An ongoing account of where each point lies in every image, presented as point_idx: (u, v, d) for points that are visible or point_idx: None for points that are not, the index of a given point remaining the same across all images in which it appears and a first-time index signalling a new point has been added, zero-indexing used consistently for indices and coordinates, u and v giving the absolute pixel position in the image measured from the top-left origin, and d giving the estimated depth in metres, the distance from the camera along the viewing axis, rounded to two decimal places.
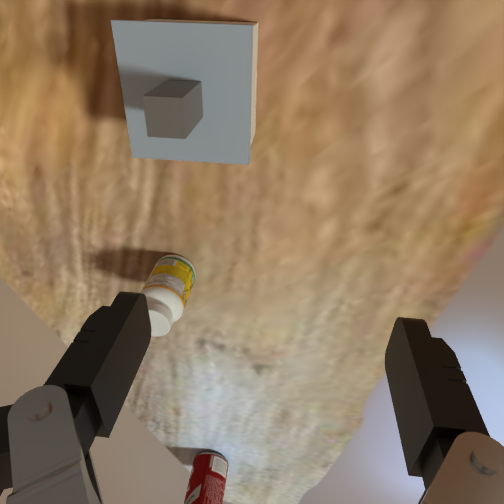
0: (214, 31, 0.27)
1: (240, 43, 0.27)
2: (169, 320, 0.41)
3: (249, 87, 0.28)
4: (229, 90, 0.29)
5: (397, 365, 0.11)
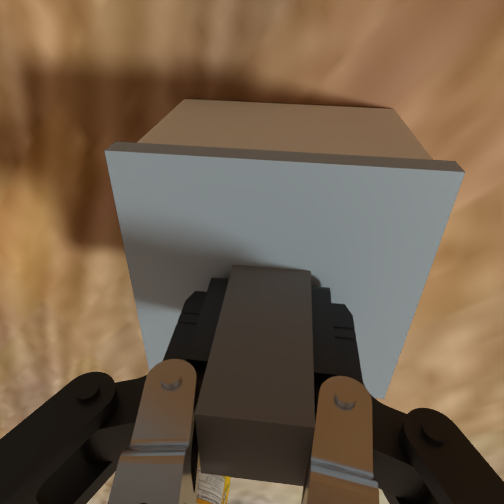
0: (363, 181, 0.11)
1: (423, 207, 0.11)
2: None
3: (421, 287, 0.12)
4: (372, 289, 0.13)
5: None
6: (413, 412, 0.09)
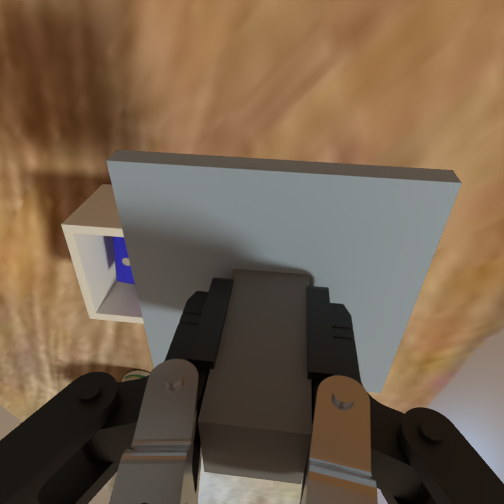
0: (361, 191, 0.11)
1: (420, 216, 0.11)
2: None
3: (417, 290, 0.13)
4: (370, 292, 0.13)
5: None
6: (410, 411, 0.09)
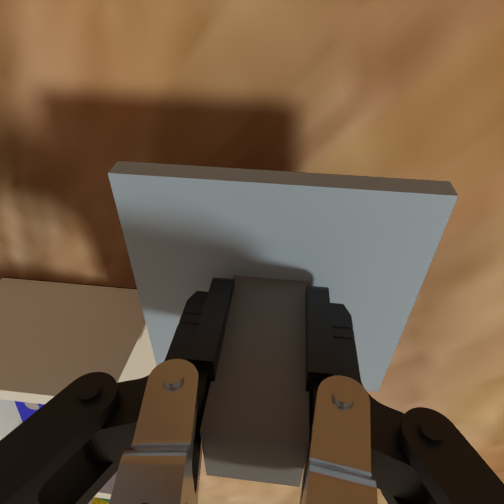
0: (359, 203, 0.11)
1: (417, 227, 0.11)
2: None
3: (414, 296, 0.13)
4: (367, 298, 0.13)
5: None
6: (410, 411, 0.09)
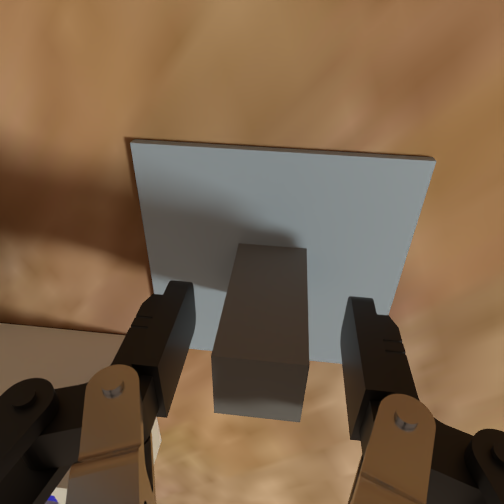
0: (350, 169, 0.13)
1: (402, 191, 0.13)
2: None
3: (402, 262, 0.14)
4: (360, 265, 0.15)
5: (347, 341, 0.12)
6: (484, 431, 0.08)
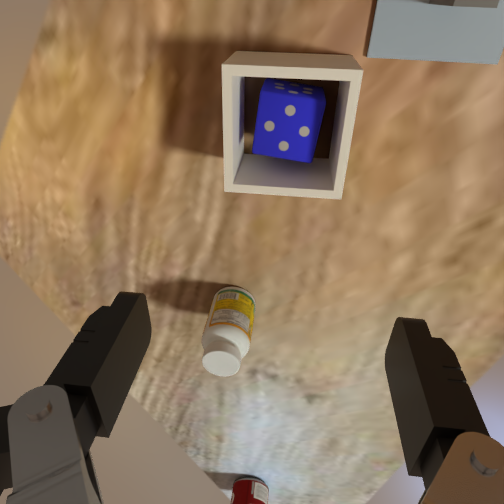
0: None
1: None
2: (239, 360, 0.39)
3: None
4: None
5: (397, 365, 0.11)
6: None
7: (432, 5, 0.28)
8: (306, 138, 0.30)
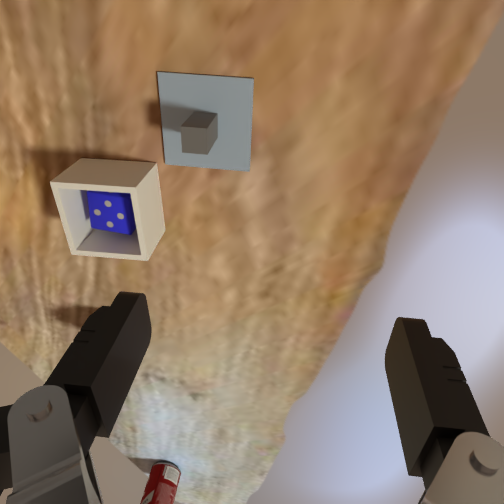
0: (228, 81, 0.39)
1: (245, 90, 0.39)
2: None
3: (250, 118, 0.41)
4: (236, 120, 0.41)
5: (397, 365, 0.11)
6: None
7: None
8: (123, 220, 0.45)
